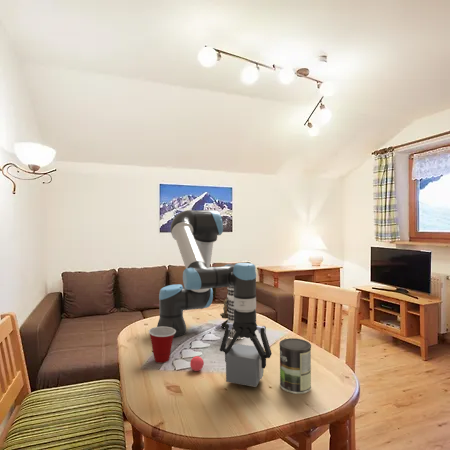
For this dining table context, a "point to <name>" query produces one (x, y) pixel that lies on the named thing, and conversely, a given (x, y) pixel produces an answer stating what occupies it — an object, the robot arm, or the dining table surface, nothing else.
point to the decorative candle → (231, 310)
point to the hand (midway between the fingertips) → (245, 374)
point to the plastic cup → (162, 342)
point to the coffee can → (295, 365)
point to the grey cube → (243, 365)
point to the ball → (196, 363)
